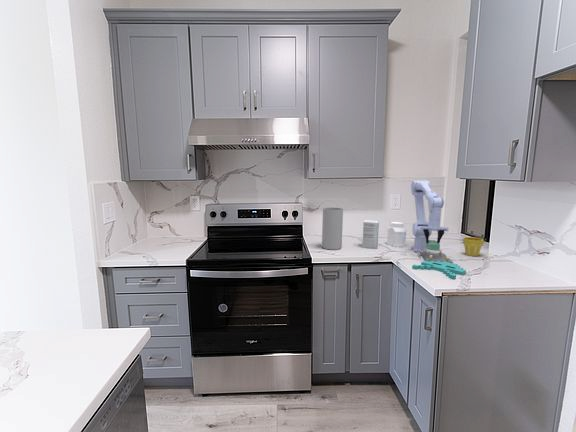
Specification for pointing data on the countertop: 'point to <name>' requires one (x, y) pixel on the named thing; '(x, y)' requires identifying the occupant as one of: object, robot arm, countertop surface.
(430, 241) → the green block
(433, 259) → the chassis
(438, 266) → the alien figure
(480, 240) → the plant pot
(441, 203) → the robot arm
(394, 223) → the jar
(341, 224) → the cylinder vase
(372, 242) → the supplement box
